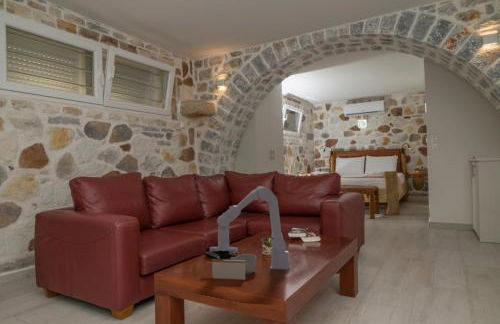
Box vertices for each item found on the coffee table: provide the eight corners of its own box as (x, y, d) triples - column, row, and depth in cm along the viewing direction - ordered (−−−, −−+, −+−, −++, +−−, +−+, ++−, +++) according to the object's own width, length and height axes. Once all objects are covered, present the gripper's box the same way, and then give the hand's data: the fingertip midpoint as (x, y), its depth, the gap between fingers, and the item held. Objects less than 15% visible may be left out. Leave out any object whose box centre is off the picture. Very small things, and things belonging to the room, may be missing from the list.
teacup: (259, 269, 173) (258, 254, 173) (253, 276, 162) (253, 260, 162) (233, 268, 176) (233, 253, 176) (226, 274, 166) (226, 258, 166)
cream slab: (245, 278, 160) (245, 260, 160) (245, 279, 158) (244, 261, 158) (213, 277, 163) (212, 259, 163) (211, 278, 161) (211, 260, 161)
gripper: (239, 237, 174) (239, 263, 174) (212, 237, 176) (212, 262, 176) (235, 240, 167) (236, 267, 167) (208, 240, 169) (208, 266, 169)
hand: (224, 265), depth 171 cm, fingers closed
